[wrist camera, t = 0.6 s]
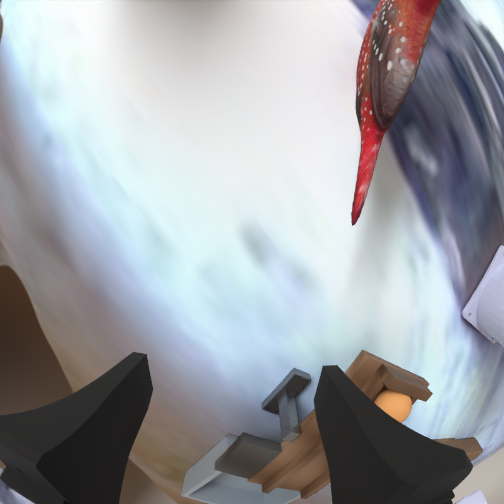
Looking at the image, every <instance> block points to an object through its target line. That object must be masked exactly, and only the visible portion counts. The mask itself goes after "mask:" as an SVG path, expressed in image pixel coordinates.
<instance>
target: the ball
mask: <svg viewBox="0 0 504 504" xmlns="http://www.w3.org/2000/svg"><path fill="white" fill-rule="evenodd" d="M374 403H375V404H376V405H377V406H379V407H380V408H381V409H382V410H383V411H385V412H386V413H387V414H389V415H390V416H391V417H393V418H394V419H396V420H397V421H399V422H400V423H402V422H403V421H404V420H405V419H406V418H407V417H408V416H409V414H410V411H411V408H412V401H411V398H410V396H408V395H405V394H402V393H400V392H397V391H394V390H391V389H386V390H384V391H383V392H381V393H380V394H379V395H378V396H377V398H376V399H375V401H374Z"/></svg>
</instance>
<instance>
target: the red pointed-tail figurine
mask: <svg viewBox="0 0 504 504" xmlns="http://www.w3.org/2000/svg"><path fill="white" fill-rule="evenodd" d="M439 3H440V0H381V1H380V3H379V4H378V6H377V8H376V10H375V12H374V14H373V16H372V19H371V21H370V23H369V26H368V28H367V31H366V34H365V37H364V40H363V43H362V47H361V51H360V55H359V60H358V66H357V90H356V114H357V118H358V123H359V127H360V131H361V153H360V160H359V167H358V174H357V182H356V188H355V193H354V201H353V206H352V213H351V216H352V226H353V225H354V224H356V222H357V220H358V218H359V216H360V214H361V210H362V208H363V205H364V202H365V198H366V196H367V192H368V188H369V185H370V181H371V179H372V175H373V171H374V167H375V163H376V160H377V156H378V152H379V148H380V145H381V141H382V139H383V136H384V134H385V133H386V131H387V130H388V128H389V126H390V125H391V123H392V122H393V121H394V119H395V117H396V115H397V114H398V112H399V110H400V108H401V106H402V104H403V102H404V100H405V98H406V96H407V94H408V92H409V89H410V87H411V85H412V83H413V81H414V78H415V76H416V73H417V70H418V67H419V65H420V61H421V58H422V55H423V51H424V48H425V45H426V41H427V38H428V34H429V31H430V28H431V24H432V20H433V17H434V14H435V12H436V9H437V7H438V5H439Z"/></svg>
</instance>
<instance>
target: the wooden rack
mask: <svg viewBox="0 0 504 504" xmlns="http://www.w3.org/2000/svg"><path fill="white" fill-rule="evenodd" d="M345 374H346V375H347V376H348V377H349V378H350V380H351V381H352V382H353V383H354V384H355V385H356V386H357V387H358V388H359V389H360V390H361V391H362V392H363V393H364V394H365V395H366V396H367V397H368V398H370V399H371V400H372V401H373V402H374V401H375V399H376V398H377V396H378V395H379V394H380V393H381V392H383V391H384V390H386V389H391V390H394V391H397V392H400V393H402V394H405V395H408V396H410V398H411V401H412V405H413V404H414V403H415V401H416V400H417V399H419V400H422V401H425V402H426V401H427V400H428V399H429V398H430V396H431V395H432V394H433V393H432V392H431V391H430V390H429V389H428V388H427V387H428V386H429V383H428V382H427V381H426V380H425V379H424V378H422V377H420V376H418V375H416V374H414V373H411V372H409V371H407V370H405V369H403V368H400V367H398V366H396V365H394V364H392V363H390V362H388V361H385V360H383V359H381V358H379V357H377V356H375V355H373V354H371V353H369V352H367V351H365V350H362V351H361V353H360V354H359V355H358V357H357V358H356V359H355V361H354V362H353V363H352V364H351V366H350V367H349V368H348V370H347V371H346V372H345ZM299 430H300V435H299V436H297V437H296V438H295V439H294V440H293V441H291V442H288V441H283V442H282V443H281V444H280V443H276V442H273V441H269V440H266V439H262V438H259V437H256V436H253V435H249V434H246V433H242V434H241V435H240V436H239V437H238V438H237V439H236V441H235V442H234V443H233V444H232V445H231V446H230V447H229V448H228V449H227V450H226V451H225V452H224V453H223V454H222V455H221V456H220V457H219V458H218V459H217V460H216V461H215V469H214V470H217V471H220V472H224V473H227V474H231V475H235V476H238V477H242V478H247V482H251V483H256V484H261V485H262V493H267V494H268V493H270V492H271V491H272V490H274V489H275V488H282V489H289V490H296V491H300V495H301V498H303V499H306V498H308V497H309V496H311V495H312V494H314V493H316V492H318V491H319V490H320V489H322V488H323V487H325V486H326V485H327V484H329V483H330V474H329V467H328V462H327V458H326V455H325V451H324V447H323V443H322V440H321V436H320V432H319V428H318V425H317V421H316V414H315V409H314V410H313V411H312V412H311V413H310V414H309V415H308V416H307V417H306V418H305V419H304V420H303V421H302V423H301V424H300V425H299Z"/></svg>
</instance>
